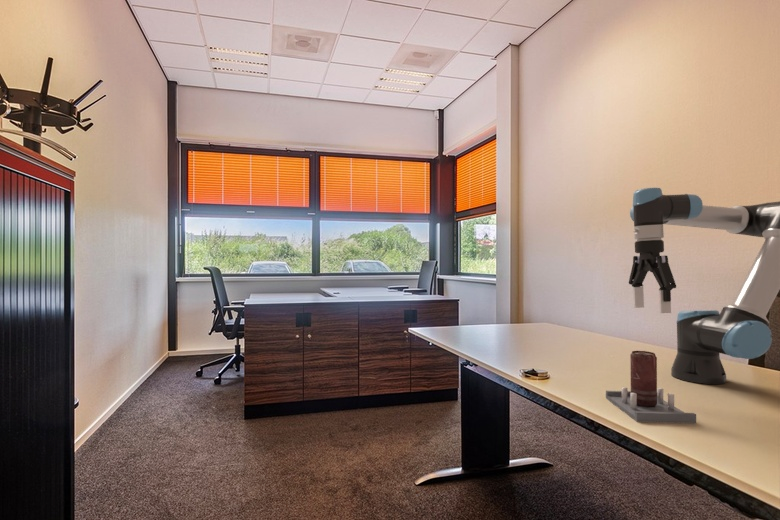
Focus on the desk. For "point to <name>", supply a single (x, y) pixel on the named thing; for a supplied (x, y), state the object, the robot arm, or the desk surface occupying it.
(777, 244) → the robot arm
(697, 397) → the desk surface
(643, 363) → the can
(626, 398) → the tray
